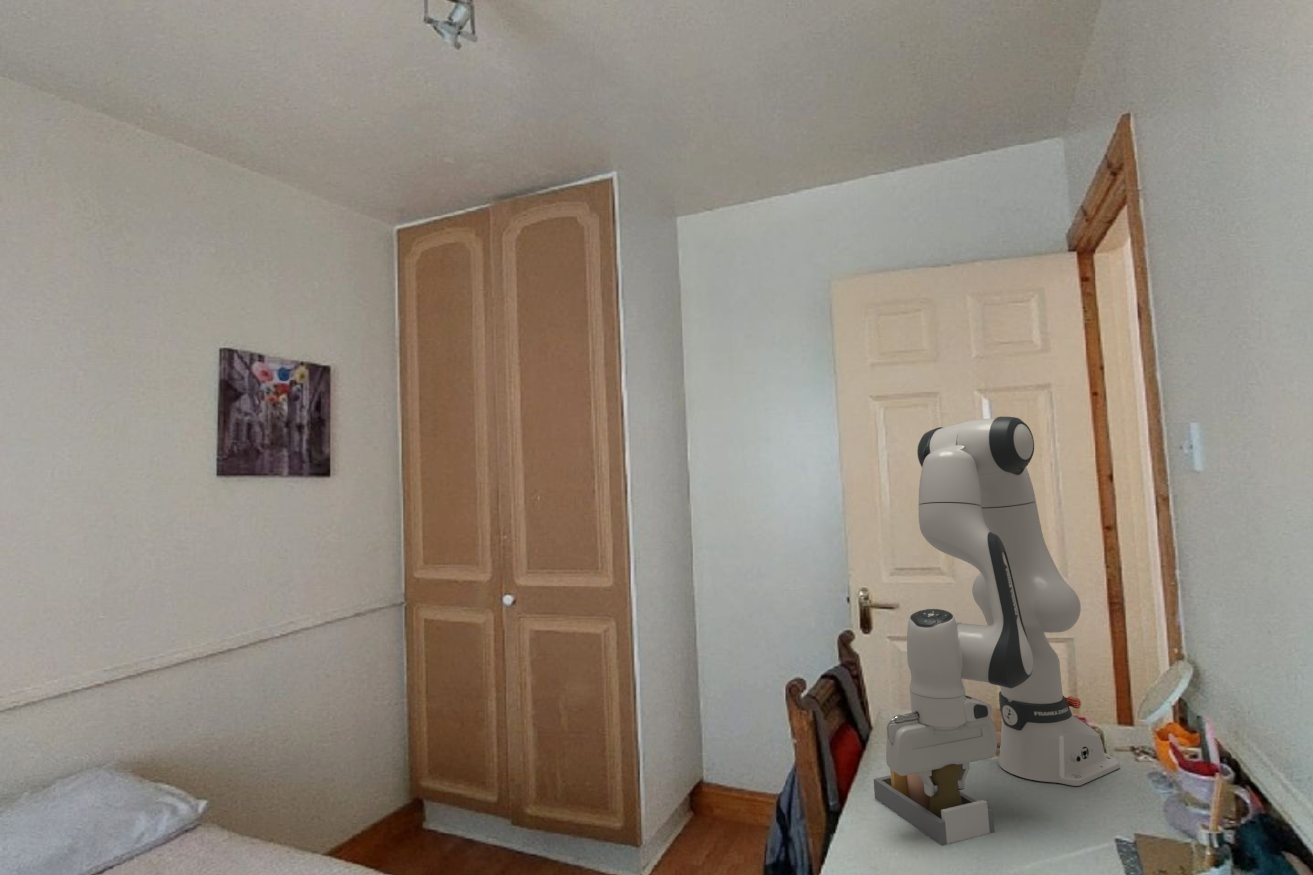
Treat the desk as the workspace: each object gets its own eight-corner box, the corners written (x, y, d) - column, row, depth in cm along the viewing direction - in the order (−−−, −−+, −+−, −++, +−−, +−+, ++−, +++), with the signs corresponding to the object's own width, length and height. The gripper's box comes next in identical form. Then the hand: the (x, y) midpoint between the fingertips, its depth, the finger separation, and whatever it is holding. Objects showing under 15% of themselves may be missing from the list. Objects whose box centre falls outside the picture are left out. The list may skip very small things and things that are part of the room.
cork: (972, 835, 113) (966, 766, 114) (933, 834, 114) (927, 766, 115) (962, 817, 119) (956, 752, 119) (925, 816, 120) (920, 752, 120)
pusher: (927, 794, 127) (923, 750, 128) (930, 796, 126) (927, 752, 127) (892, 802, 125) (889, 757, 125) (896, 804, 124) (892, 759, 125)
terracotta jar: (926, 800, 126) (921, 746, 126) (946, 812, 121) (941, 756, 121) (902, 806, 124) (898, 751, 125) (922, 818, 119) (917, 761, 120)
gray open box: (922, 790, 131) (920, 760, 131) (994, 835, 114) (991, 800, 114) (875, 801, 128) (872, 770, 128) (942, 849, 110) (939, 813, 111)
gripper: (898, 723, 112) (904, 811, 111) (1000, 704, 118) (1007, 788, 117) (875, 711, 118) (881, 795, 117) (973, 694, 124) (979, 774, 123)
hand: (945, 791), depth 117 cm, fingers open, 4 cm apart
